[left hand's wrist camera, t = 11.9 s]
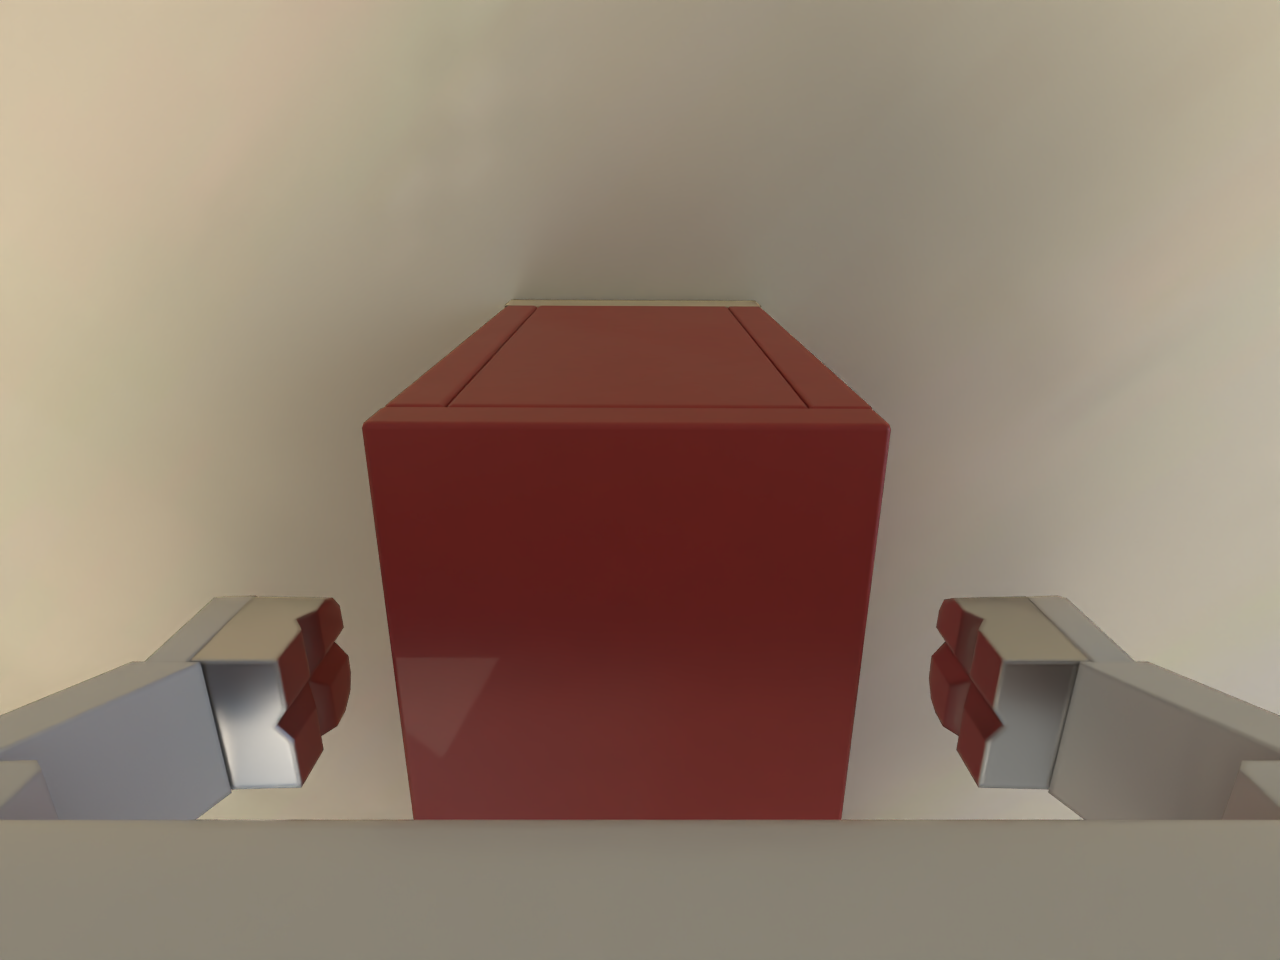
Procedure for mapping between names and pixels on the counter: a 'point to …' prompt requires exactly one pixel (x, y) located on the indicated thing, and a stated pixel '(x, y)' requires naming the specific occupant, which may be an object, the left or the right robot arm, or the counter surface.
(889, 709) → the counter surface
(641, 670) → the cabinet
